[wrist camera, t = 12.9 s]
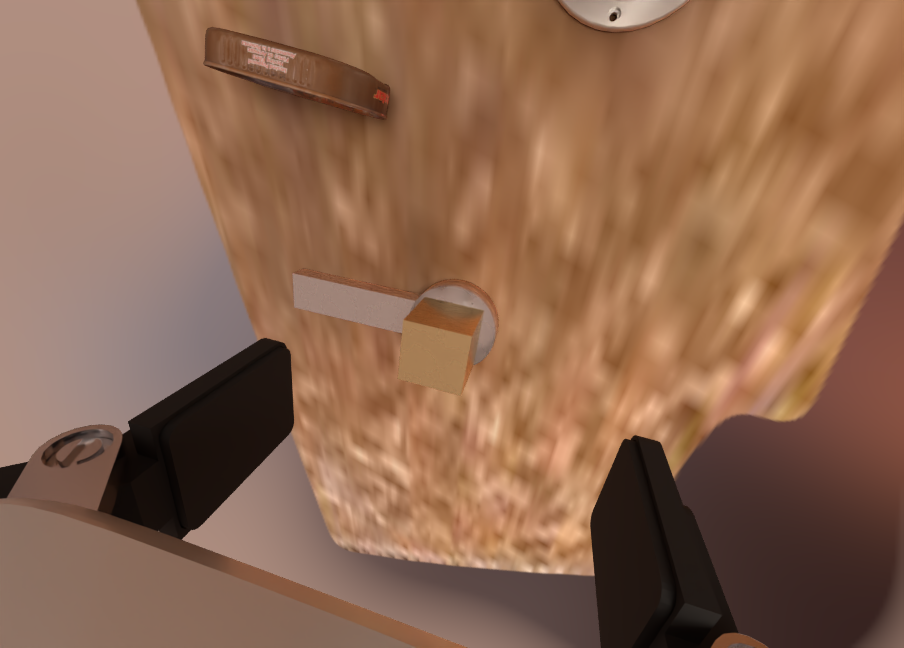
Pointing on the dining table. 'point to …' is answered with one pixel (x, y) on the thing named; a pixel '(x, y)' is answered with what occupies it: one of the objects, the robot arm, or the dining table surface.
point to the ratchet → (388, 302)
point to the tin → (296, 72)
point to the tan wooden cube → (439, 345)
